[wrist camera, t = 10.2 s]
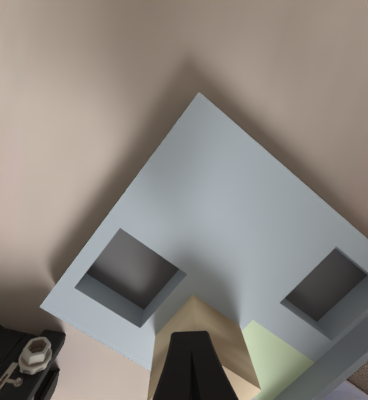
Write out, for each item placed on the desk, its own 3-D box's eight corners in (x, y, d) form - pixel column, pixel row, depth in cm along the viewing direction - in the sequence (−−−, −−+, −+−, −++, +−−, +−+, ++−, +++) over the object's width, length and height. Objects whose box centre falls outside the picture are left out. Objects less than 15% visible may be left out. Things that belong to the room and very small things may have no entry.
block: (240, 326, 15) (261, 390, 11) (201, 364, 16) (209, 437, 12) (193, 294, 14) (198, 350, 10) (155, 336, 15) (146, 403, 11)
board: (388, 265, 16) (444, 297, 13) (242, 400, 19) (256, 455, 16) (196, 99, 13) (202, 83, 10) (56, 287, 16) (23, 325, 13)
